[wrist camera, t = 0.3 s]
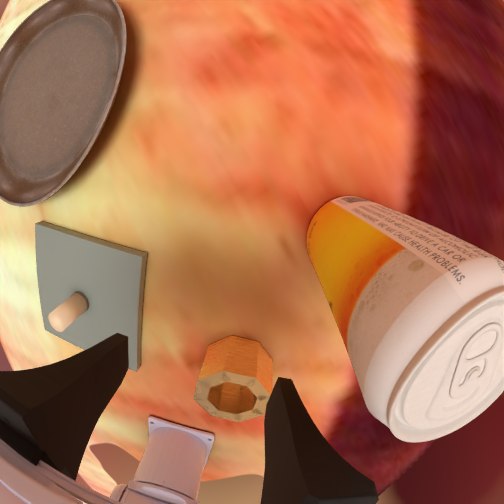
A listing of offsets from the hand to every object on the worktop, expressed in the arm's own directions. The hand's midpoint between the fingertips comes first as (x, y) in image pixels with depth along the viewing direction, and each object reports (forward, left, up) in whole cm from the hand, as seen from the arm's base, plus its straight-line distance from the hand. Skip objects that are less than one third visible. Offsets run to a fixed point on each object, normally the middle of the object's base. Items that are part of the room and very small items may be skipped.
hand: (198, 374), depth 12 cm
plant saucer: (+13, +21, -10) cm, 26 cm away
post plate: (-5, +13, -10) cm, 17 cm away
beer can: (+6, -7, -10) cm, 14 cm away
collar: (-7, -2, -10) cm, 12 cm away
